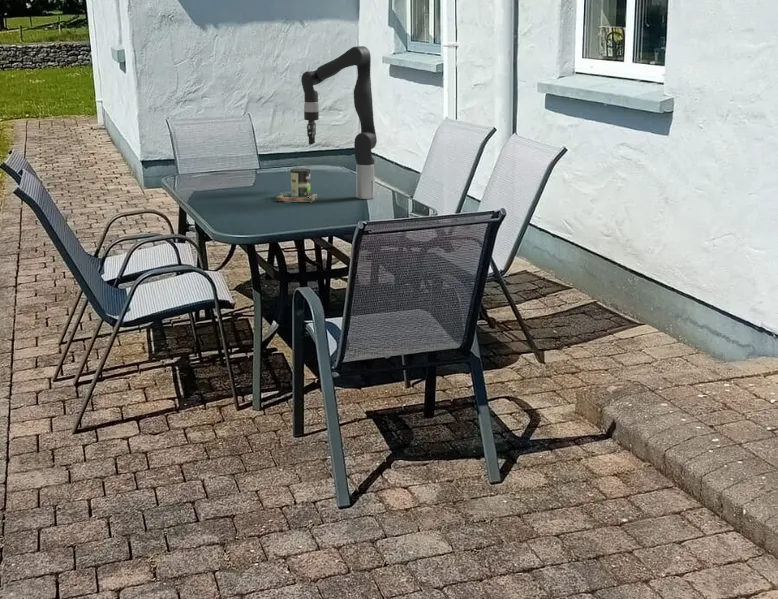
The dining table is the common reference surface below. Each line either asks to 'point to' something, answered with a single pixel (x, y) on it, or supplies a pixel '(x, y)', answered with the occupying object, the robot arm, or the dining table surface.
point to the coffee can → (300, 182)
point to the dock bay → (283, 198)
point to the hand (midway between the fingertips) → (311, 143)
